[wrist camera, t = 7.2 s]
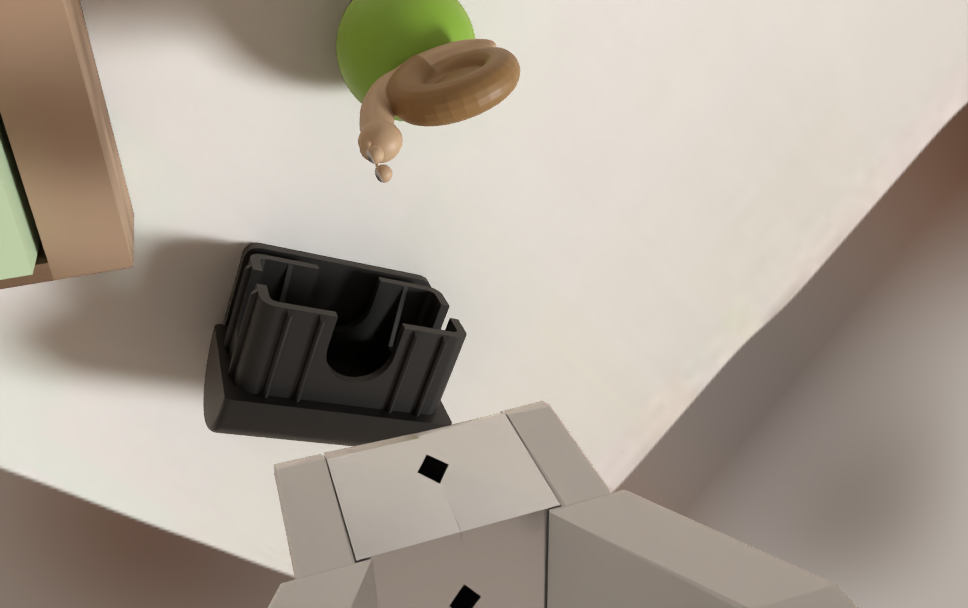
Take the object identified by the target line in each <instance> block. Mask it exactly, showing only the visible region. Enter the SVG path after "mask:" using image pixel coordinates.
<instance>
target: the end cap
mask: <svg viewBox="0 0 968 608" xmlns="http://www.w3.org/2000/svg"><path fill="white" fill-rule="evenodd" d="M448 309H449V304H448V303H447V301H446V300H445V298H444V296H443V295H442V294H441V293H440V292H439V291H437V290H436V289H434V288H431V286H430V284H429V282H428V281H427V279H426V278H425V277H423V276H420V275H415V274H410V273H405V272H400V271H395V270H390V269H385V268H380V267H375V266H370V265H365V264H361V263H356V262H351V261H346V260H341V259H336V258H331V257H326V256H321V255H316V254H311V253H306V252H301V251H296V250H291V249H286V248H281V247H276V246H271V245H266V244H261V243H252V244H250V245H248V246H247V247H246V248H245V250H244V251H243V253H242V257H241V261H240V264H239V268H238V271H237V275H236V279H235V282H234V286H233V289H232V293H231V297H230V300H229V304H228V307H227V311H226V315H225V319H224V323H223V324H216V325H215V327H214V331H213V335H212V340H211V344H210V349H209V355H208V360H207V367H206V375H205V384H204V417H205V422H206V425H207V427H208V428H209V429H210V430H211V431H213V432H216V433H226V434H236V435H246V436H256V437H266V438H276V439H286V440H296V441H306V442H316V443H326V444H336V445H346V446H358V445H363V444H367V443H372V442H377V441H381V440H386V439H391V438H396V437H400V436H405V435H410V434H414V433H415V434H416V433H420V432H424V431H428V430H432V429H436V428H440V427H445V426H449V425H451V424H452V422H451V420H450V418H449V416H448V414H447V412H446V410H445V408H444V406H443V404H442V402H441V398H442V395H443V393H444V390H445V388H446V385H447V382H448V380H449V377H450V375H451V372H452V370H453V367H454V365H455V362H456V360H457V357H458V355H459V352H460V350H461V347H462V345H463V342H464V340H465V337H466V332H465V330H464V328H463V327H462V325H461V324H460V322H459V320H457V319H452V318H450V319H449V322H448V324H447V327H446V330H441V327H442V324H443V322H444V319H445V316H446V314H447V311H448Z"/></svg>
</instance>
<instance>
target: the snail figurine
mask: <svg viewBox="0 0 968 608" xmlns="http://www.w3.org/2000/svg"><path fill="white" fill-rule="evenodd" d="M336 54H337V61H338V65H339V69H340V72H341V75H342V77H343V79H344V81H345V83H346V85H347V87H348V88H349V90H350V91H351V93H352V94H353V95H354V96H355V97H356V98H357V100H358V101H359V102H361V103H362V105H361V110H360V132H361V133H360V135H359V138H358V144H359V147H360V152H361V154H362V156H363V157H364V158H365V159H367V160H368V161H370V162H371V163H373V164H376V167H377V168H376V169H375V175H376V177H377V179H378V180H379V181H380V182H383V183H385V182H388V181H389V180H390V179H391V177H392V170H391V168H390V167H389V166H387V165H379V166H378V163H384V162H388V161H390V160H392V159H393V158H394V157H395V156H396V155H397V154H398V153H399V151H400V149H401V147H402V134H401V132H400V130H399V129H398V128H397V127H396V126H395V125H394V120H398V121H405V122H407V123H410V124H413V125H418V126H440V125H447V124H452V123H456V122H460V121H463V120H466V119H469V118H471V117H474V116H476V115H479V114H481V113H483V112H485V111H487V110H489V109H491V108H492V107H494V106H496V105H497V104H499V103H500V102H501V101H503V100H504V99H505V98H506V97H507V96H508V95H509V94H510V93H511V92H512V91H513V90H514V88H515V87H516V85H517V83H518V80H519V76H520V66H519V63H518V61H517V59H516V57H515V56H514V55H513V54H512V53H510V52H509V51H507V50H505V49H502V48H498V47H496V44H495V42H493V41H491V40H487V39H475V34H474V30H473V27H472V24H471V21H470V19H469V17H468V15H467V13H466V11H465V10H464V8H463V7H462V5H461V4H460V3H459V2H458V0H352V2H351V3H350V4H349V6H348V7H347V9H346V10H345V12H344V14H343V16H342V19H341V21H340V24H339V28H338V32H337V39H336Z"/></svg>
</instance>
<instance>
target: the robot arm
mask: <svg viewBox="0 0 968 608" xmlns="http://www.w3.org/2000/svg"><path fill="white" fill-rule="evenodd" d="M274 475H275V480H276V485H277V490H278V495H279V500H280V505H281V510H282V515H283V520H284V526H285V531H286V536H287V541H288V546H289V551H290V556H291V561H292V566H293V571H294V577H295V580H292V581H289V582H285V583H282V584H281V585H280V586H279V588H278V590H277V592H276V594H275V596H274V597H273V599H272V601H271V603H270V605H269V606H268V608H858V607H857V606H856V605H855V604H854V603H853V602H852V601H851V600H850V598H848V596H847V595H846V594H845V593H844V592H843V591H842V590H841V589H840V587H839V586H838V585H836V584H834V583H832V582H830V581H828V580H825V579H823V578H821V577H819V576H816V575H814V574H812V573H809V572H807V571H805V570H803V569H801V568H798V567H796V566H794V565H791V564H789V563H787V562H785V561H783V560H781V559H778V558H776V557H774V556H772V555H769V554H767V553H765V552H763V551H760V550H758V549H756V548H753V547H752V546H749V545H747V544H745V543H743V542H740V541H738V540H736V539H734V538H731V537H729V536H727V535H725V534H722V533H720V532H718V531H716V530H713V529H711V528H709V527H707V526H705V525H702V524H700V523H698V522H696V521H693V520H691V519H689V518H687V517H684V516H682V515H680V514H678V513H675V512H673V511H671V510H669V509H666V508H664V507H662V506H660V505H658V504H655V503H653V502H651V501H649V500H646V499H644V498H642V497H640V496H638V495H635V494H633V493H631V492H629V491H626V490H621V491H617V492H613V493H612V492H611V491H610V489H609V488H608V487H607V485H606V484H605V482H604V481H603V480H602V478H601V477H600V475H599V474H598V472H597V471H596V470H595V468H594V467H593V465H592V464H591V462H590V461H589V460H588V458H587V457H586V455H585V454H584V453H583V451H582V450H581V448H580V447H579V445H578V444H577V443H576V441H575V440H574V438H573V437H572V435H571V434H570V433H569V431H568V430H567V428H566V427H565V426H564V424H563V423H562V421H561V420H560V418H559V417H558V416H557V414H556V413H555V411H554V410H553V408H552V407H551V406H550V404H548V403H546V402H544V401H540V402H536V403H532V404H528V405H524V406H520V407H517V408H513V409H509V410H505V411H501V412H500V414H494V415H490V416H486V417H482V418H477V419H473V420H469V421H465V422H461V423H457V424H453V425H449V426H445V427H440V428H436V429H432V430H428V431H424V432H420V433H416V434H415V433H414V434H410V435H405V436H400V437H396V438H391V439H386V440H381V441H377V442H372V443H367V444H363V445H358V446H353V447H349V448H344V449H339V450H335V451H330V452H325V453H324V457H323V456H322V455H321V454H319V455H314V456H310V457H305V458H301V459H296V460H291V461H287V462H282V463H278V464H274Z"/></svg>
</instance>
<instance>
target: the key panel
mask: <svg viewBox="0 0 968 608" xmlns="http://www.w3.org/2000/svg"><path fill="white" fill-rule="evenodd" d="M0 113H1V116H2V119H3V122H4V125H5V129H6V132H7V135H8V138H9V141H10V144H11V147H12V151H13V154H14V157H15V160H16V163H17V166H18V169H19V172H20V176H21V179H22V182H23V185H24V188H25V191H26V194H27V198H28V201H29V204H30V207H31V210H32V213H33V216H34V220H35V223H36V226H37V229H38V232H39V235H40V238H41V241H40V245H39V249H38V254H37V258H36V262H35V266H34V270H33V275H27V276H21V277H15V278H9V279H2V280H0V289H4V288H10V287H16V286H22V285H28V284H34V283H40V282H46V281H52V280H58V279H64V278H70V277H76V276H82V275H88V274H94V273H100V272H106V271H112V270H118V269H124V268H130V267H133V244H134V213H133V209H132V205H131V201H130V197H129V193H128V189H127V186H126V182H125V178H124V174H123V170H122V166H121V162H120V158H119V154H118V150H117V146H116V142H115V138H114V134H113V130H112V127H111V123H110V119H109V115H108V111H107V107H106V103H105V99H104V95H103V91H102V87H101V83H100V79H99V75H98V71H97V68H96V64H95V60H94V56H93V52H92V48H91V44H90V40H89V36H88V32H87V28H86V24H85V20H84V16H83V13H82V9H81V5H80V1H79V0H0Z"/></svg>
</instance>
